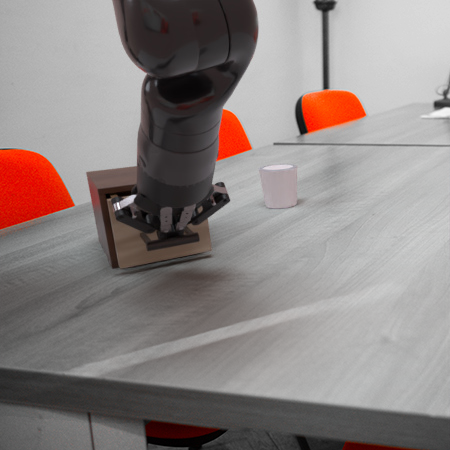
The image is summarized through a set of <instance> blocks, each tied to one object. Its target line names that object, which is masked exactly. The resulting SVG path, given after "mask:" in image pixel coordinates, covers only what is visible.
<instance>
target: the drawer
mask: <svg viewBox="0 0 450 450" xmlns="http://www.w3.org/2000/svg"><path fill="white" fill-rule="evenodd" d="M105 195H106V200H107V205H108V211H109V216H110V222H111V227H112V233H113V238H114V244H115V248H116V253H117V259H118V264H119V267H118V268H119V269H120V270H122V269H126V268H131V267H137V266H142V265H147V264H151V263H152V264H153V263H157V262H161V261H166V260H172V259H176V258H181V257H186V256H192V255H197V254H201V253H202V254H203V253H206V252H212V251H213V248H212V247H213V246H212V241H211V240H212V239H211V232H210V225H209V218H207V219H206V220H205V221H203V222H202V223H201V224H199V225H192V223H191V224H188V225H187V226H186V229H184V235H179V236H173V237H168V238H162V239H158V237H157V233H156V231H155V232H153V233H151V234H146V233H144V232H142V231H139V230H137V229H135V228H133V227H130V226H128V225H126V224H124V223H121V222H119V221H117V220H116V218H115V214H114V211H113V207H112V203H111V199H112V198H114V197H122V198H124V199H125V198H127V197H129V196H131V195H132V194H131V191H124V192H117V193H110V194H105ZM202 210H203V208H202V206H201V207H200V208H198V211H199V213H200V212H201V211H202Z"/></svg>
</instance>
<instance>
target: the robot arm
mask: <svg viewBox="0 0 450 450" xmlns="http://www.w3.org/2000/svg"><path fill="white" fill-rule="evenodd" d="M111 1H112V7H113V12H114V17H115V23H116V26H117V27H116V28H117V31H118V36H119V39H120V42H121V45H122V48H123V50H124V53H125V54H126V55H127V57H128V58H129V60H130V61H131V62H132V63H133V64H134V66H136V67H137V68H138V69H139V70H141V71H142V72H143V73H145V76H144V78H143V79H142V84H141V89H140V91H141V92H140V119H139V120H140V121H139V126H138V131H137V135H136V136H137V139H136V166H137V183H136V185H135V186H134V187H133V188H132V191H131V194H132V195H131V196H129V197H127V198H125V199H124V198H122V197H114V198H112V199H111V203H112V207H113V211H114V214H115V218H116V220H117V221H119V222H121V223H124V224H126V225H128V226H130V227H133V228H135V229H137V230H139V231H142V232H144V233H146V234H151V233H153V232H155V231H156V233H157V237H158V239H162V238H168V237H173V236H179V235H184V229H186V226H187V225H188V224H191V223H192V225H199V224H201V223H202V222H203V221H205V220H206V219H207V218H208V219H209V218H210V217H212V215H214V214H215V213H217V212H218V211H220V210H221V209H222V208H224V207H225V206H226V205H228V204H229V203H230V202H231V198H230V195H229V193H228V190H227V187H226V184H225V182H224V181H218V182H216V183H214V184H213V180H214V175H215V169H216V164H217V160H218V158H219V153H220V151H219V147H220V128H221V123H222V117H223V111H224V106H226V104H227V102H228V101H229V100H230V99H231V96H232V95H233V93H234V92H235V90H236V89H237V87H238V85H239V83H240V82H241V80H242V78H243V77H244V75H245V73H246V72H247V70H248V68H249V66H250V64H251V62H252V60H253V58H254V55H255V52H256V50H257V46H258V42H259V32H260V31H259V30H260V25H259V24H260V23H259V15H258V9H257V7H256V4H255V1H254V0H111ZM201 206H202V208H203V210H202V211H201V212H200V213H199V211H198V208H200V207H201Z"/></svg>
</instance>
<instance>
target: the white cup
mask: <svg viewBox="0 0 450 450" xmlns="http://www.w3.org/2000/svg"><path fill="white" fill-rule="evenodd" d="M258 173H259V178H260V179H259V180H260V183H261V188H262V194H263V199H264V204H265V208H268V209H274V210H275V209H287V208H288V209H289V208H292V207H294V206H297V204H298V166H297V165H296V164H293V163H292V164H291V163H276V164H268V165H267V164H266V165H263V166H261V167H258Z"/></svg>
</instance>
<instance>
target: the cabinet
mask: <svg viewBox="0 0 450 450" xmlns="http://www.w3.org/2000/svg"><path fill="white" fill-rule="evenodd" d="M85 175H86V177H87V178H86V179H87V185H88V190H89V195H90V201H91V206H92V210H93V216H94V222H95V227H96V232H97V237H98V238H97V239H98V241H99V243H100V246H101V248H102V250H103V253H104V254H105V256H106V258H107V261H108V263H109V265H110V267H111V268H112V269H116V268H120V267H119V264H118V259H117V253H116V248H115V244H114V238H113V233H112V227H111V222H110V216H109V211H108V205H107V200H106V195H105V194H110V193H117V192H124V191H132V188H133V187H134V186H135V185H136V183H137V165H135V166H133V165H132V166H125V167H116V168H108V169H99V170H91V171H86V172H85Z"/></svg>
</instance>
